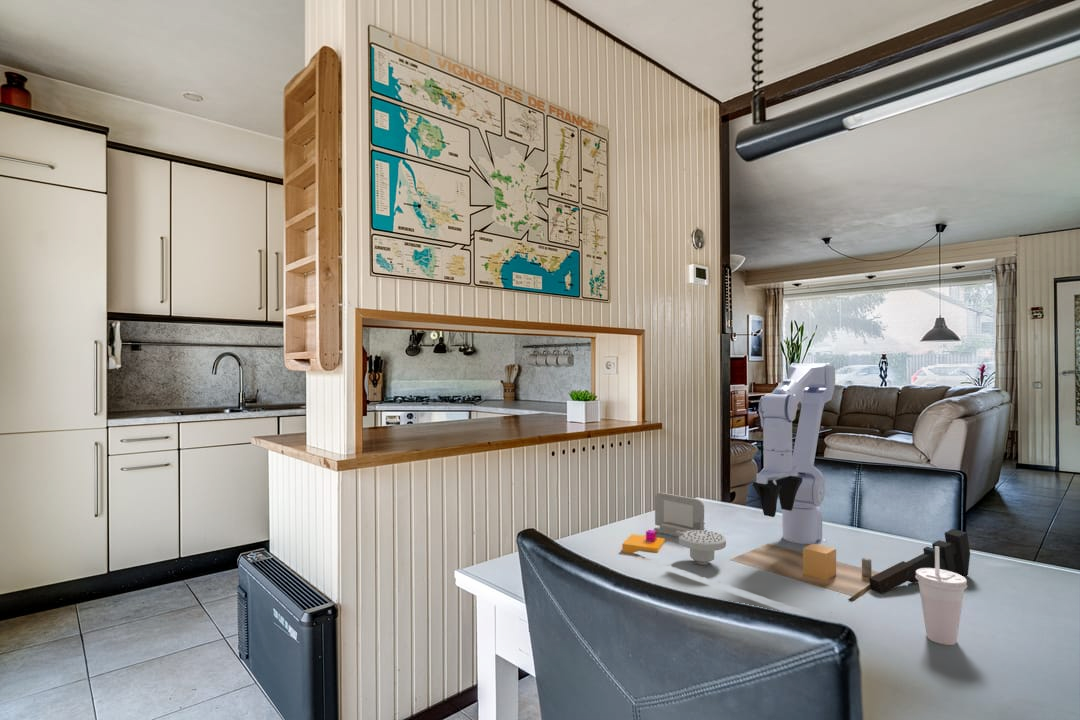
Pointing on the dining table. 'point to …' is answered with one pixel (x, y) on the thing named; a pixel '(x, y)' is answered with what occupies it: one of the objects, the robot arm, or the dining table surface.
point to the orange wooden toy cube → (819, 561)
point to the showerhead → (702, 544)
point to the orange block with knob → (643, 542)
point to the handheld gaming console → (678, 514)
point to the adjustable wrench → (927, 562)
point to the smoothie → (941, 601)
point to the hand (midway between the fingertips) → (778, 512)
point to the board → (791, 566)
